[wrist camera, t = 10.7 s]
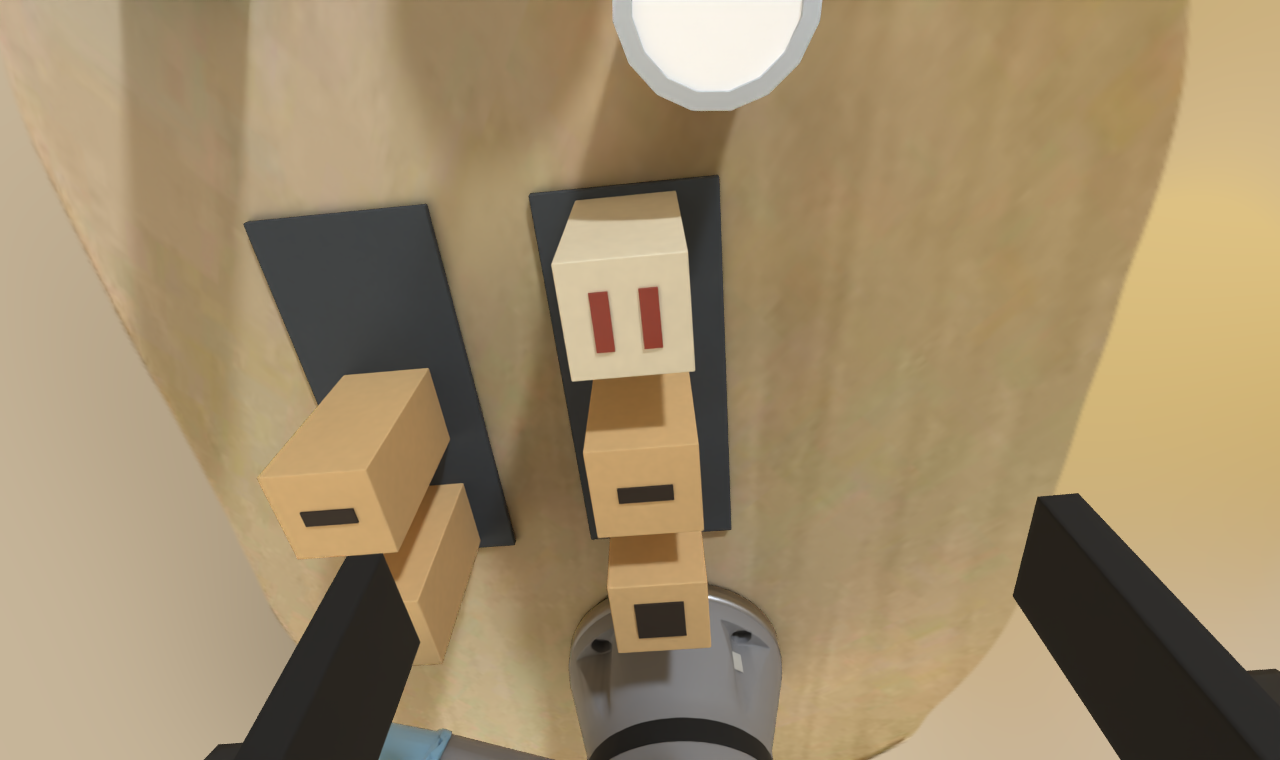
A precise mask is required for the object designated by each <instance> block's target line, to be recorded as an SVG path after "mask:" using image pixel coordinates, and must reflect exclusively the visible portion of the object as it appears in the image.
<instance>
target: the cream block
mask: <svg viewBox="0 0 1280 760" xmlns="http://www.w3.org/2000/svg"><path fill="white" fill-rule="evenodd" d="M551 266H552V272H553V278H554V284H555V289H556V295H557V301H558V306H559V312H560V318H561V324H562V329H563V335H564V341H565V346H566V352H567V358H568V364H569V369H570V375H571V380H572V381H573V382H574V381H585V380H597V379H609V378H621V377H633V376H645V375H657V374H669V373H681V372H693V371H695V356H694V340H693V324H692V307H691V291H690V275H689V259H688V249H687V244H686V239H685V234H684V229H683V224H682V219H681V214H680V209H679V204H678V199H677V194H676V191H667V192H657V193H646V194H636V195H626V196H616V197H606V198H596V199H585V200H576V201H575V203H574V205H573V208H572V211H571V213H570V216H569V219H568V221H567V224H566V227H565V229H564V232H563V235H562V237H561V240H560V243H559V245H558V248H557V251H556V253H555V256H554V258H553V261H552V264H551Z"/></svg>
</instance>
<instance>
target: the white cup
mask: <svg viewBox="0 0 1280 760" xmlns="http://www.w3.org/2000/svg"><path fill="white" fill-rule="evenodd" d="M612 4H613V23H614V26H615V28H616V31H617V34H618V36H619V39H620V42H621V44H622V47H623V49H624V52H625V55H626V57H627V60H628V63H629V64H630V66H631V67H632V68H633V69H634V70H635V71H636V72H637V73H638V74H639V76H640V77H641V78H642V79H643V80H644V81H645V82H646V83H647V84H648V85H649V87H650V88H651V89H652V90H653V91H654V92H655V93H656V94H657V95H659V96H661V97H663V98H665V99H667V100H670V101H672V102H674V103H676V104H678V105H681V106H683V107H685V108H687V109H689V110H692V111H732V110H734V109H736V108H739V107H741V106H743V105H745V104H748V103H750V102H752V101H755V100H757V99H759V98H762V97H764V96H766V95H768V94H769V93H770V92H771V91H772V90H773V89H774V88H775V87H776V86H777V85H778V84H779V83H780V82H781V81H782V80H783V79H784V78H785V77H786V76H787V75H788V74H789V73H790V72H791V71H792V70H793V69H794V68H795V67H796V66H797V65H798V64H799V63H800V61H801V59H802V57H803V55H804V53H805V51H806V49H807V47H808V45H809V42H810V40H811V38H812V36H813V34H814V32H815V30H816V28H817V26H818V24H819V22H820V15H821V7H822V0H612Z"/></svg>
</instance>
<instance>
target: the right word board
mask: <svg viewBox="0 0 1280 760" xmlns="http://www.w3.org/2000/svg"><path fill="white" fill-rule="evenodd" d="M667 191H676V194H677V199H678V204H679V209H680V214H681V219H682V224H683V229H684V234H685V239H686V244H687V249H688V259H689V275H690V291H691V307H692V324H693V340H694V356H695V371H693V372H681V373H669V374H657V375H645V376H633V377H621V378H609V379H597V380H585V381H574V382H573V381H572V380H571V375H570V369H569V364H568V358H567V352H566V346H565V341H564V335H563V329H562V324H561V318H560V312H559V306H558V301H557V295H556V289H555V284H554V278H553V272H552V266H551V264H552V261H553V258H554V256H555V253H556V251H557V248H558V245H559V243H560V240H561V237H562V235H563V232H564V229H565V227H566V224H567V221H568V219H569V216H570V213H571V211H572V208H573V205H574V203H575V201H576V200H585V199H596V198H606V197H616V196H626V195H636V194H646V193H657V192H667ZM529 201H530V206H531V211H532V217H533V222H534V228H535V233H536V239H537V244H538V250H539V255H540V261H541V266H542V272H543V277H544V283H545V288H546V293H547V299H548V304H549V310H550V315H551V321H552V326H553V332H554V337H555V343H556V348H557V354H558V359H559V364H560V370H561V375H562V381H563V386H564V392H565V397H566V403H567V408H568V414H569V419H570V425H571V430H572V436H573V441H574V446H575V452H576V457H577V463H578V468H579V474H580V479H581V485H582V490H583V496H584V501H585V507H586V512H587V518H588V523H589V528H590V534H591V539H592V540H594V539H608V538H610V546H609V562H608V578H607V592H608V598H609V604H610V609H611V615H612V621H613V626H614V632H615V638H616V643H617V649H618V653H631V652H647V651H664V650H680V649H696V648H710V647H711V632H710V616H709V600H708V584H707V574H706V566H705V557H704V549H703V540H702V532H707V531H721V530H731V505H730V475H729V446H728V417H727V388H726V358H725V329H724V300H723V271H722V241H721V212H720V183H719V176H718V175H711V176H701V177H691V178H681V179H671V180H661V181H651V182H641V183H631V184H621V185H611V186H601V187H591V188H581V189H571V190H561V191H550V192H540V193H531V194H529Z"/></svg>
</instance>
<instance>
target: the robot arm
mask: <svg viewBox="0 0 1280 760" xmlns="http://www.w3.org/2000/svg"><path fill="white" fill-rule="evenodd" d="M1013 597H1014V599H1015V600H1016V602H1017V603H1018V605H1019V606H1020V608H1021V609H1022V611H1023V612H1024V614H1025V615H1026V617H1027V618H1028V620H1029V621H1030V623H1031V624H1032V626H1033V628H1034V629H1035V630H1036V632H1037V633H1038V635H1039V636H1040V638H1041V640H1042V641H1043V643H1044V644H1045V646H1046V647H1047V649H1048V650H1049V652H1050V653H1051V655H1052V656H1053V658H1054V659H1055V661H1056V662H1057V664H1058V665H1059V667H1060V668H1061V670H1062V672H1063V673H1064V675H1065V676H1066V678H1067V679H1068V681H1069V682H1070V683H1071V685H1072V687H1073V688H1074V690H1075V691H1076V693H1077V694H1078V696H1079V697H1080V699H1081V700H1082V702H1083V703H1084V705H1085V706H1086V708H1087V709H1088V711H1089V712H1090V714H1091V715H1092V717H1093V719H1094V720H1095V722H1096V723H1097V725H1098V726H1099V728H1100V729H1101V731H1102V732H1103V734H1104V735H1105V737H1106V738H1107V739H1108V741H1109V743H1110V744H1111V746H1112V747H1113V749H1114V750H1115V752H1116V753H1117V755H1118V756H1119V758H1120V759H1121V760H1280V671H1278V670H1276V669H1268V670H1252V671H1246V670H1245V669H1244V668H1243V667H1242V666H1241V665H1240V664H1239V663H1238V662H1237V661H1236V660H1235V659H1234V658H1233V657H1232V655H1231V654H1230V653H1229V652H1228V651H1227V650H1226V649H1225V648H1224V647H1223V646H1222V645H1221V644H1220V643H1219V642H1218V641H1217V640H1216V639H1215V637H1214V636H1213V635H1212V634H1211V633H1210V632H1209V631H1208V630H1207V629H1206V628H1205V627H1204V626H1203V625H1202V624H1201V623H1200V622H1199V620H1197V618H1195V616H1194V615H1193V614H1192V613H1191V612H1190V611H1189V610H1188V609H1187V608H1186V607H1185V606H1184V605H1183V604H1182V603H1181V601H1180V600H1179V599H1178V598H1177V597H1176V596H1175V595H1174V594H1173V593H1172V592H1171V591H1170V590H1169V589H1168V588H1167V587H1166V586H1165V585H1164V584H1163V582H1161V580H1160V579H1159V578H1158V577H1157V576H1156V575H1155V574H1154V573H1153V572H1152V571H1151V570H1150V569H1149V568H1148V567H1147V566H1146V564H1145V563H1144V562H1143V561H1142V560H1141V559H1140V558H1139V557H1138V556H1137V555H1136V554H1135V553H1134V552H1133V551H1132V550H1131V549H1130V548H1129V547H1128V545H1127V544H1126V543H1125V542H1124V541H1123V540H1122V539H1121V538H1120V537H1119V536H1118V535H1117V534H1116V533H1115V532H1114V531H1113V530H1112V529H1111V528H1110V526H1109V525H1108V524H1107V523H1106V522H1105V521H1104V520H1103V519H1102V518H1101V517H1100V516H1099V515H1098V514H1097V513H1096V512H1095V511H1094V510H1093V508H1092V507H1091V506H1090V505H1089V504H1088V503H1087V502H1086V501H1085V500H1084V499H1083V498H1082V497H1081V496H1080V495H1079V494H1078V493H1076V494H1065V495H1053V496H1041V497H1037V501H1036V505H1035V509H1034V513H1033V517H1032V521H1031V525H1030V529H1029V533H1028V537H1027V541H1026V545H1025V549H1024V553H1023V557H1022V561H1021V565H1020V569H1019V573H1018V577H1017V581H1016V585H1015V589H1014V593H1013ZM708 600H709V616H710V632H711V647H710V648H696V649H680V650H664V651H647V652H631V653H618V649H617V643H616V638H615V632H614V626H613V621H612V615H611V609H610V604H609V598H607V599H605V600H604V601H602V602H601V603H599V604H598V605H597V606H595V607H594V608H593V609H592V610H590V611H589V612H588V613H587V614H586V615H585V617H584V618H583V619H582V620H581V622H580V623H579V625H578V626H577V628H576V630H575V632H574V635H573V638H572V642H571V650H570V658H569V676H570V686H571V690H572V694H573V699H574V703H575V707H576V711H577V715H578V720H579V724H580V728H581V732H582V737H583V741H584V745H585V749H586V753H587V760H773V756H772V746H773V739H774V732H775V724H776V717H777V710H778V702H779V695H780V688H781V680H782V661H781V654H780V649H779V645H778V640H777V635H776V633H775V630H774V628H773V626H772V624H771V622H770V621H769V619H768V618H767V616H766V615H765V614H764V613H763V612H762V611H761V610H760V609H759V608H758V607H757V606H755V605H754V604H753V603H751V602H750V601H748V600H747V599H745V598H743V597H742V596H740V595H738V594H736V593H733V592H731V591H729V590H726V589H723V588H720V587H717V586H713V585H709V584H708ZM419 645H420V640H419V637H418V635H417V633H416V630H415V628H414V626H413V623H412V621H411V618H410V616H409V614H408V611H407V609H406V607H405V604H404V602H403V600H402V597H401V595H400V592H399V590H398V588H397V585H396V583H395V581H394V578H393V576H392V574H391V571H390V569H389V567H388V564H387V562H386V559H385V557H384V555H383V553H378V554H366V555H355V556H347V557H346V559H345V560H344V562H343V564H342V566H341V568H340V569H339V571H338V573H337V575H336V577H335V578H334V580H333V582H332V584H331V586H330V587H329V589H328V591H327V593H326V595H325V596H324V598H323V600H322V602H321V604H320V605H319V607H318V609H317V611H316V613H315V614H314V616H313V618H312V620H311V622H310V623H309V625H308V627H307V629H306V631H305V632H304V634H303V636H302V638H301V639H300V641H299V643H298V645H297V647H296V648H295V650H294V652H293V654H292V656H291V658H290V659H289V661H288V663H287V665H286V666H285V668H284V670H283V672H282V674H281V676H280V677H279V679H278V681H277V683H276V684H275V686H274V688H273V690H272V692H271V694H270V695H269V697H268V699H267V701H266V702H265V704H264V706H263V708H262V710H261V712H260V713H259V715H258V717H257V719H256V721H255V722H254V724H253V726H252V728H251V730H250V731H249V733H248V735H247V737H246V738H245V740H244V742H243V743H235V744H234V743H233V744H219V745H218V746H217V747H216V748H215V749H214V750H213V751H212V752H211V753H210V754H209V755H208V756H207V757H206V758H205V759H204V760H553V759H549V758H545V757H541V756H537V755H533V754H529V753H525V752H521V751H517V750H514V749H510V748H506V747H502V746H498V745H494V744H490V743H486V742H482V741H478V740H474V739H470V738H466V737H462V736H458V735H454V734H452V731H449V730H446V729H439V730H437V731H433V730H428V729H423V728H418V727H412V726H407V725H402V724H397V723H392V720H393V718H394V715H395V712H396V709H397V706H398V704H399V701H400V698H401V695H402V692H403V690H404V687H405V684H406V681H407V678H408V676H409V673H410V670H411V667H412V665H413V662H414V659H415V656H416V653H417V651H418V648H419Z"/></svg>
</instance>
